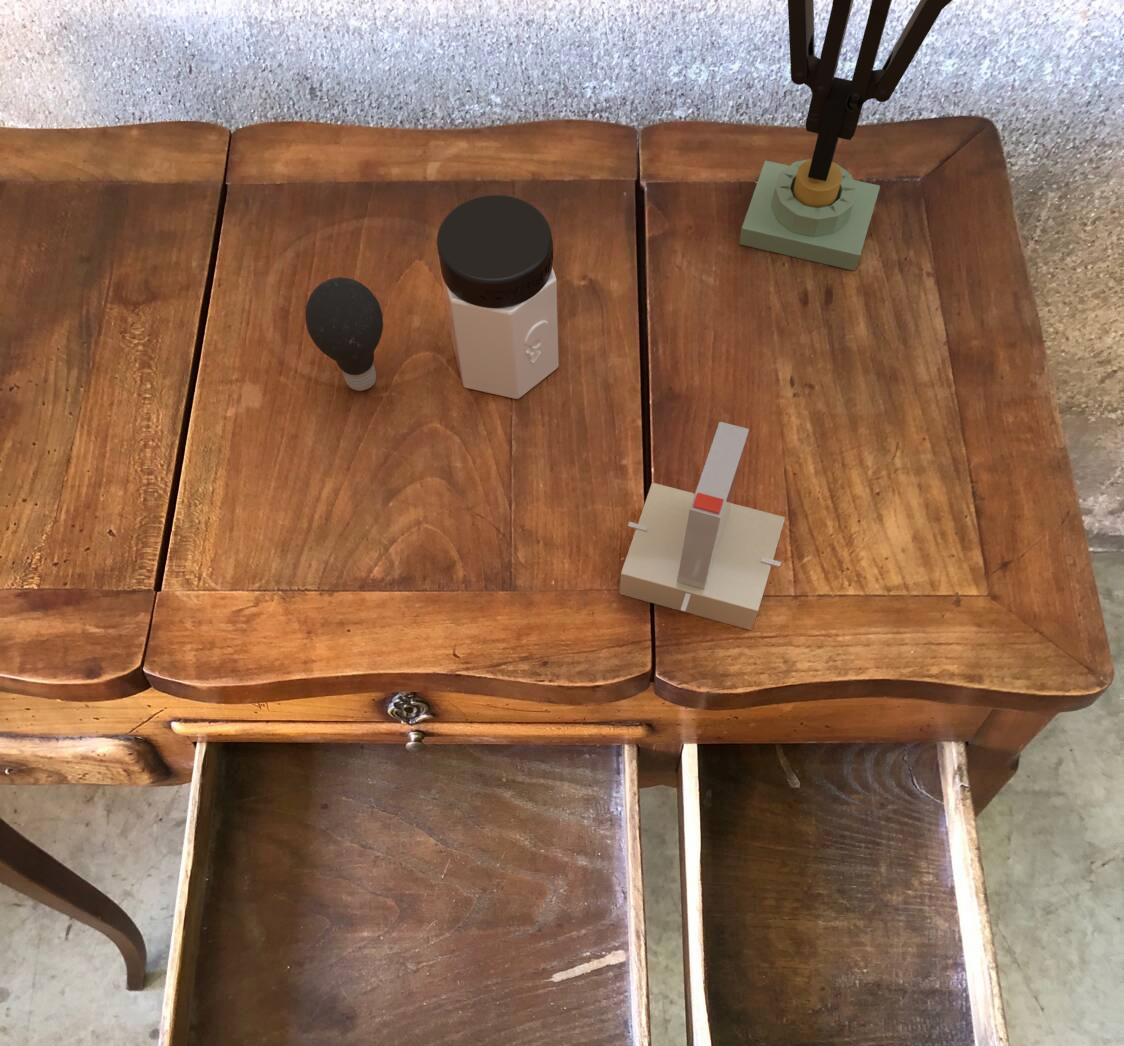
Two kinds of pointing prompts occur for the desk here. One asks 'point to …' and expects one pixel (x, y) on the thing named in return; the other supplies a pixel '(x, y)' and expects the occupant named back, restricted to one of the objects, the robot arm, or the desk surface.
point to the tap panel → (732, 572)
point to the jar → (500, 293)
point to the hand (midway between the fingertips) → (820, 167)
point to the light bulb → (346, 327)
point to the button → (817, 186)
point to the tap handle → (711, 504)
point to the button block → (808, 218)
